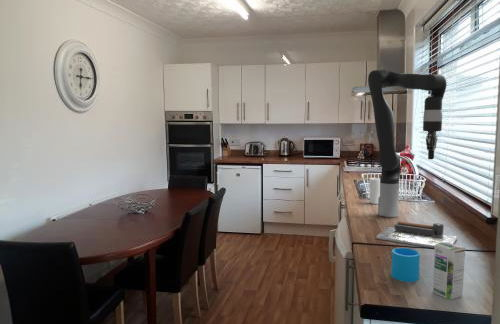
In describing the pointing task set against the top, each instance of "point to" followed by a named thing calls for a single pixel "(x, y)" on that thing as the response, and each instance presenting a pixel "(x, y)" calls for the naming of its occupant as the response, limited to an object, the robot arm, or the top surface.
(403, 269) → the mug
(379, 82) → the robot arm
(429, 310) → the top surface
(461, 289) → the syrup box
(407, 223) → the cable arm
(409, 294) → the top surface
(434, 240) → the panel
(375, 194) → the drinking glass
